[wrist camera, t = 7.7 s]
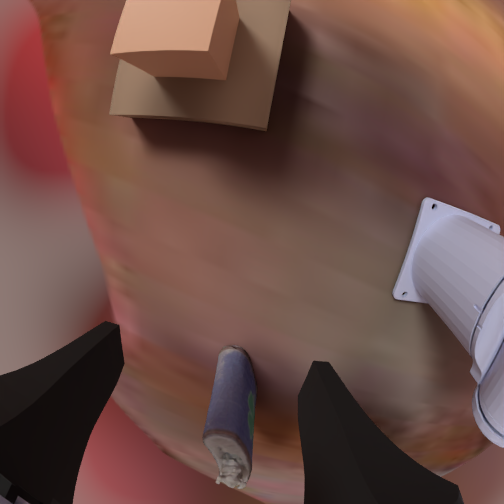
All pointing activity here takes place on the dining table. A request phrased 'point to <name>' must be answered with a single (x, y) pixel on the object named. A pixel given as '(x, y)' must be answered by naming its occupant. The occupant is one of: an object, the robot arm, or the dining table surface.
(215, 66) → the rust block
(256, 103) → the base
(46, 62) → the dining table surface
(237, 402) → the flask
